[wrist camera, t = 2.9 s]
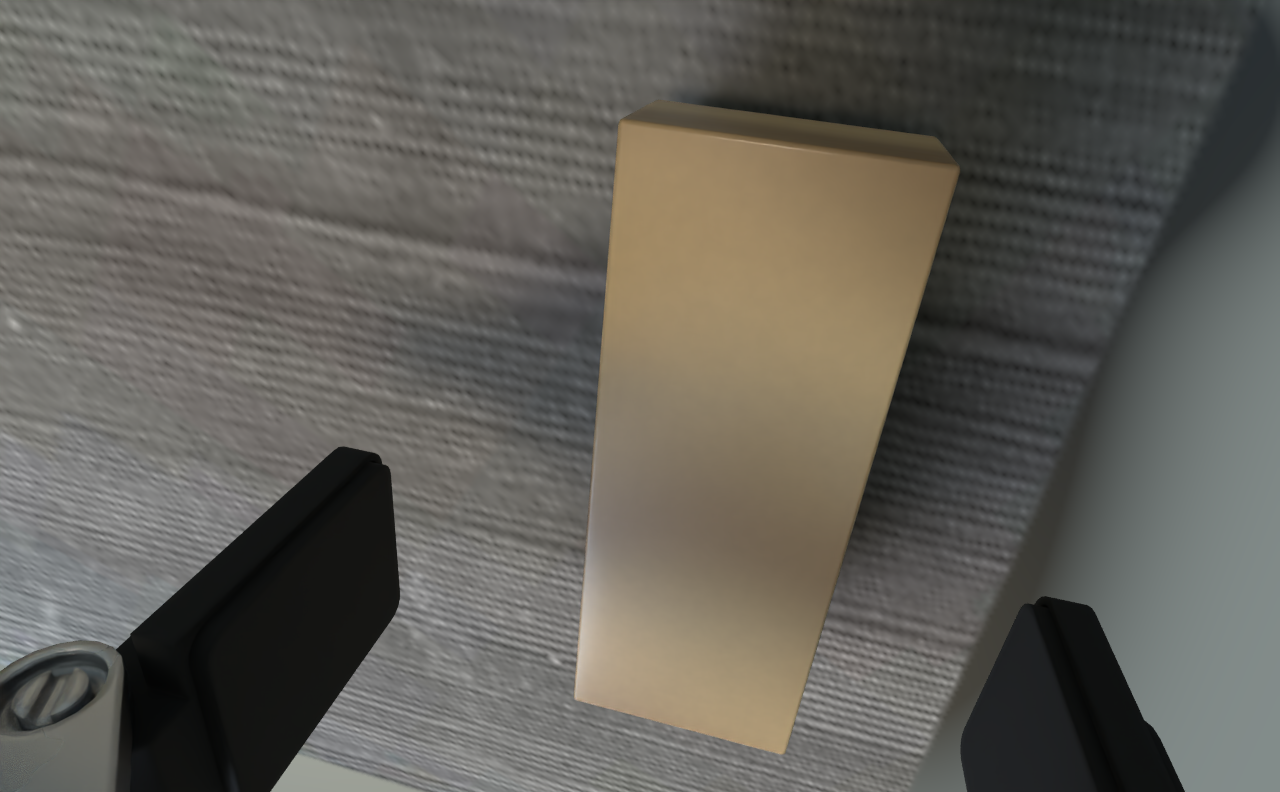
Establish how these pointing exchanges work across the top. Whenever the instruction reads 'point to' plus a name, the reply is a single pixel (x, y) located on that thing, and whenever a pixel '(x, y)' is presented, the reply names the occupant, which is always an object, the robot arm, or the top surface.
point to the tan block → (742, 400)
